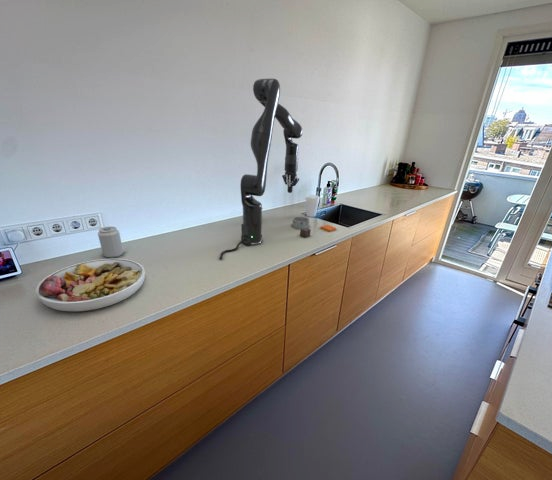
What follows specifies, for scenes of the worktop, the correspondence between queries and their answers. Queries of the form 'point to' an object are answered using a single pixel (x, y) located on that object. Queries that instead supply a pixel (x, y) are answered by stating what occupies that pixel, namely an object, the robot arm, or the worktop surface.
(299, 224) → the steel pot
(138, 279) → the bowl
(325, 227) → the orange cloth
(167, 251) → the worktop surface
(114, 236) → the can
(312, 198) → the foam cup
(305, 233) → the walnut block
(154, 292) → the worktop surface
